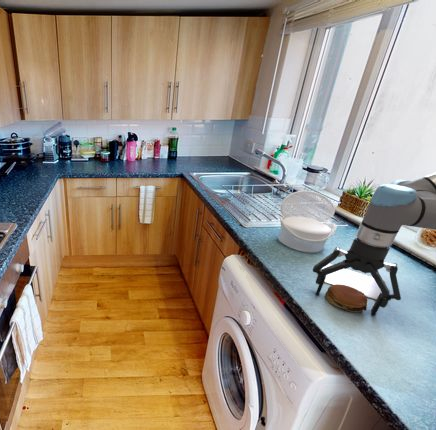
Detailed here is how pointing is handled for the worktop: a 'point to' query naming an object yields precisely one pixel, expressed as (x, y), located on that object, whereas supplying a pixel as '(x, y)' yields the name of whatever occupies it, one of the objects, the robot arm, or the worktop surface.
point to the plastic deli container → (306, 222)
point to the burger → (346, 298)
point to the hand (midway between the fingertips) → (343, 302)
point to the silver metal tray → (354, 281)
